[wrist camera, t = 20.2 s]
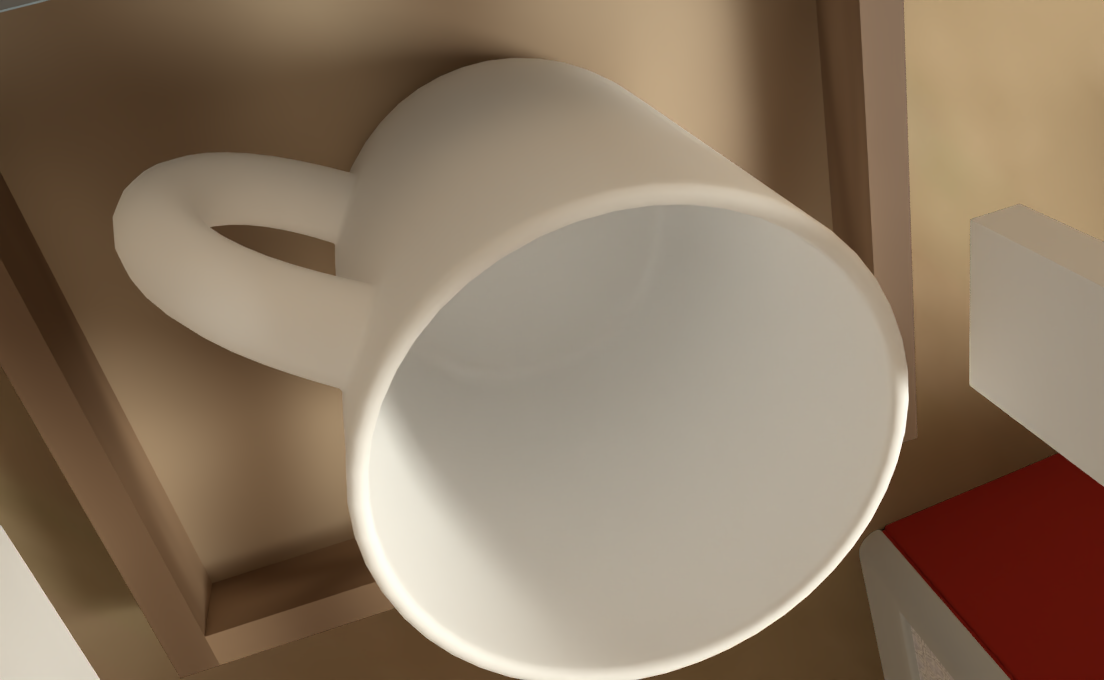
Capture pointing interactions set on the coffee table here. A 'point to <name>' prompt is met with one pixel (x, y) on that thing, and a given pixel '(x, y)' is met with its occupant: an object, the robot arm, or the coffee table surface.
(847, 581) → the coffee table surface
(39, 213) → the brown wooden frame
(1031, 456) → the coffee table surface
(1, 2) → the lid
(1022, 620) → the red striped arch block
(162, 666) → the coffee table surface
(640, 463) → the mug
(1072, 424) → the robot arm
